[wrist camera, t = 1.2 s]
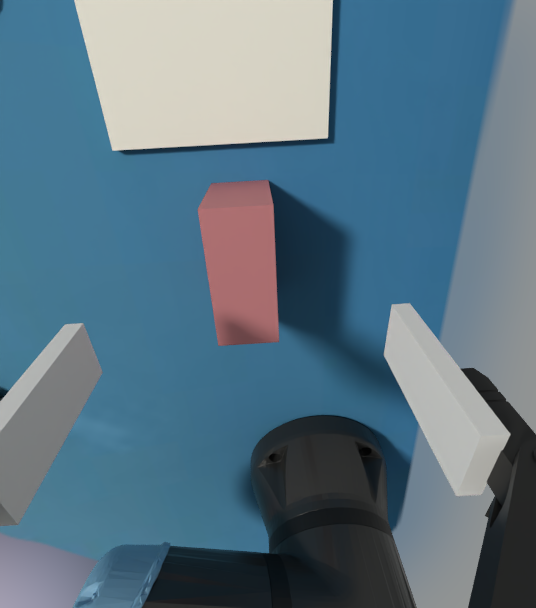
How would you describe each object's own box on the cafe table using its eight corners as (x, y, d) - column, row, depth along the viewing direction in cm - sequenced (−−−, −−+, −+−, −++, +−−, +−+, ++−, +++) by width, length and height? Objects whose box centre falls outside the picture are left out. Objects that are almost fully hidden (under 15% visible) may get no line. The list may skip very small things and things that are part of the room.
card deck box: (273, 292, 29) (279, 341, 23) (225, 295, 29) (218, 345, 23) (268, 179, 24) (273, 204, 18) (211, 183, 24) (197, 209, 18)
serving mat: (326, 137, 23) (327, 138, 22) (115, 149, 23) (112, 150, 22) (337, -200, 16) (340, -210, 15) (32, -185, 16) (24, -195, 15)
